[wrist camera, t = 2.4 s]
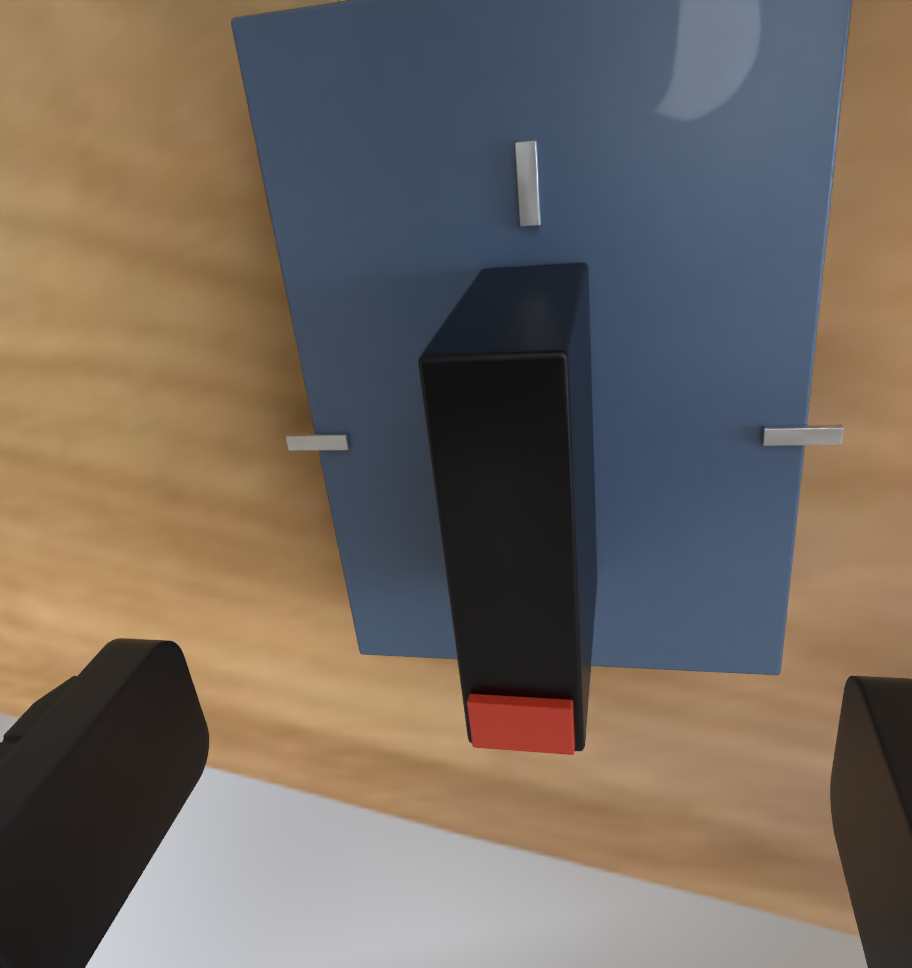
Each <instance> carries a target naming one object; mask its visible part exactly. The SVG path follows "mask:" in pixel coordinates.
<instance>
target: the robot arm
mask: <svg viewBox="0 0 912 968" xmlns="http://www.w3.org/2000/svg"><path fill="white" fill-rule="evenodd" d="M208 750H209V732H208V727H207V724H206V721H205V718H204V715H203V712H202V709H201V706H200V703H199V700H198V697H197V694H196V691H195V688H194V684H193V681H192V678H191V675H190V672H189V669H188V666H187V663H186V660H185V657H184V654H183V652H182V650H181V648H180V647H179V646H178V645H177V644H176V643H175V642H173V641H165V640H144V639H123V638H120V639H115V640H112V641H111V642H109V643H108V644H107V645H105V646H104V647H103V648H102V650H101V651H100V652H99V653H98V654H97V655H96V656H95V657H94V658H93V659H92V661H91V662H90V663H89V664H88V665H87V666H86V667H85V668H84V669H83V671H82V672H81V673H80V674H79V675H78V676H73V677H71V678H70V679H69V680H67V681H66V682H64V683H63V684H61V685H60V686H58V687H57V688H55V689H54V690H52V691H51V692H49V693H48V694H46V695H45V696H43V697H42V698H41V699H39V700H38V701H36V702H35V703H33V704H32V706H31V707H30V708H29V709H28V710H27V711H26V712H25V713H24V714H23V715H22V716H21V717H20V718H19V719H18V721H17V722H16V723H15V724H14V725H13V726H12V727H11V728H10V729H9V730H8V731H7V732H6V733H5V734H4V739H3V741H2V743H1V742H0V968H85V967H86V965H87V963H88V962H89V960H90V958H91V957H92V955H93V954H94V951H95V950H96V949H97V947H98V945H99V944H100V942H101V940H102V938H103V937H104V935H105V934H106V932H107V931H108V929H109V927H110V926H111V924H112V922H113V920H114V919H115V917H116V916H117V914H118V912H119V911H120V909H121V907H122V906H123V904H124V903H125V901H126V899H127V898H128V896H129V894H130V893H131V891H132V889H133V888H134V886H135V884H136V883H137V881H138V879H139V878H140V876H141V875H142V873H143V871H144V870H145V868H146V866H147V864H148V863H149V861H150V860H151V858H152V856H153V854H154V853H155V851H156V850H157V848H158V846H159V845H160V843H161V841H162V840H163V838H164V836H165V835H166V833H167V832H168V830H169V828H170V827H171V825H172V823H173V822H174V820H175V818H176V817H177V815H178V813H179V812H180V810H181V808H182V807H183V805H184V804H185V802H186V800H187V798H188V797H189V795H190V794H191V792H192V790H193V789H194V787H195V786H196V784H197V782H198V781H199V779H200V777H201V775H202V773H203V770H204V768H205V764H206V761H207V757H208ZM830 800H831V814H832V822H833V829H834V834H835V839H836V843H837V847H838V851H839V855H840V859H841V863H842V867H843V871H844V875H845V879H846V883H847V887H848V891H849V894H850V898H851V902H852V906H853V910H854V914H855V918H856V922H857V926H858V930H859V934H860V938H861V942H862V946H863V950H864V954H865V958H866V962H867V966H868V968H912V679H908V678H887V677H866V676H850V677H849V678H848V679H847V681H846V684H845V688H844V694H843V701H842V707H841V714H840V720H839V727H838V734H837V740H836V747H835V754H834V760H833V767H832V773H831V785H830Z"/></svg>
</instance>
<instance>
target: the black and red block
mask: <svg viewBox="0 0 912 968" xmlns="http://www.w3.org/2000/svg"><path fill="white" fill-rule="evenodd" d="M418 367H419V375H420V382H421V390H422V397H423V405H424V412H425V420H426V427H427V435H428V442H429V450H430V457H431V465H432V472H433V480H434V487H435V495H436V502H437V510H438V517H439V525H440V532H441V540H442V547H443V555H444V562H445V569H446V577H447V584H448V592H449V599H450V607H451V614H452V622H453V629H454V637H455V644H456V652H457V659H458V667H459V674H460V682H461V689H462V697H463V704H464V712H465V719H466V727H467V734H468V739H469V742H471V743H472V745H473V747H476V748H489V749H502V750H516V751H529V752H542V753H556V754H569V755H573V754H574V751H582V750H583V749H584V747H585V738H586V725H587V711H588V698H589V685H590V672H591V658H592V645H593V632H594V619H595V605H596V592H597V549H596V514H595V479H594V444H593V409H592V374H591V339H590V304H589V269H588V265H587V264H586V263H569V264H553V265H537V266H521V267H505V268H488V269H482V270H481V271H480V272H479V273H478V275H477V276H476V278H475V279H474V280H473V282H472V283H471V285H470V286H469V287H468V289H467V290H466V292H465V293H464V294H463V296H462V297H461V299H460V300H459V302H458V303H457V304H456V306H455V307H454V309H453V310H452V311H451V313H450V314H449V316H448V317H447V318H446V320H445V321H444V323H443V324H442V325H441V327H440V328H439V330H438V331H437V333H436V334H435V335H434V337H433V338H432V340H431V341H430V342H429V344H428V345H427V347H426V348H425V349H424V351H423V352H422V354H421V355H420V356H419V359H418Z"/></svg>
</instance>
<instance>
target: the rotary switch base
mask: <svg viewBox="0 0 912 968" xmlns="http://www.w3.org/2000/svg"><path fill="white" fill-rule="evenodd" d="M851 6H852V0H352V1H345V2H338V3H331V4H324V5H317V6H310V7H303V8H296V9H289V10H282V11H275V12H268V13H262V14H255V15H248V16H241V17H234V18H233V19H232V20H231V25H232V30H233V35H234V40H235V45H236V50H237V55H238V60H239V64H240V69H241V74H242V79H243V84H244V89H245V94H246V99H247V104H248V108H249V113H250V118H251V123H252V128H253V133H254V138H255V143H256V148H257V152H258V157H259V162H260V167H261V172H262V177H263V182H264V187H265V191H266V196H267V201H268V206H269V211H270V216H271V221H272V226H273V231H274V235H275V240H276V245H277V250H278V255H279V260H280V265H281V270H282V274H283V279H284V284H285V289H286V294H287V299H288V304H289V309H290V314H291V318H292V323H293V328H294V333H295V338H296V343H297V348H298V353H299V357H300V362H301V367H302V372H303V377H304V382H305V387H306V392H307V397H308V401H309V406H310V411H311V416H312V421H313V426H314V431H315V433H288V434H287V435H286V441H287V446H288V450H289V451H305V450H319V455H320V460H321V465H322V470H323V475H324V480H325V484H326V489H327V494H328V499H329V504H330V509H331V514H332V519H333V524H334V528H335V533H336V538H337V543H338V548H339V553H340V558H341V563H342V567H343V572H344V577H345V582H346V587H347V592H348V597H349V602H350V607H351V611H352V616H353V621H354V626H355V631H356V636H357V641H358V646H359V650H360V653H361V654H365V655H385V656H405V657H425V658H445V659H457V652H456V644H455V637H454V629H453V622H452V614H451V607H450V599H449V592H448V584H447V577H446V569H445V562H444V555H443V547H442V540H441V532H440V525H439V517H438V510H437V502H436V495H435V487H434V480H433V472H432V465H431V457H430V450H429V442H428V435H427V427H426V420H425V412H424V405H423V397H422V390H421V382H420V375H419V367H418V359H419V356H420V355H421V354H422V352H423V351H424V349H425V348H426V347H427V345H428V344H429V342H430V341H431V340H432V338H433V337H434V335H435V334H436V333H437V331H438V330H439V328H440V327H441V325H442V324H443V323H444V321H445V320H446V318H447V317H448V316H449V314H450V313H451V311H452V310H453V309H454V307H455V306H456V304H457V303H458V302H459V300H460V299H461V297H462V296H463V294H464V293H465V292H466V290H467V289H468V287H469V286H470V285H471V283H472V282H473V280H474V279H475V278H476V276H477V275H478V273H479V272H480V271H481V270H482V269H488V268H505V267H521V266H537V265H553V264H569V263H586V264H587V265H588V269H589V304H590V339H591V374H592V409H593V444H594V479H595V514H596V549H597V592H596V605H595V619H594V632H593V645H592V658H591V666H605V667H625V668H645V669H665V670H685V671H705V672H725V673H745V674H765V675H779V674H780V672H781V664H782V655H783V645H784V636H785V626H786V617H787V608H788V598H789V589H790V579H791V570H792V561H793V551H794V542H795V532H796V523H797V514H798V504H799V495H800V485H801V476H802V466H803V457H804V448H805V445H841V444H842V438H843V431H844V427H843V426H842V425H807V419H808V410H809V401H810V391H811V382H812V372H813V363H814V354H815V344H816V335H817V325H818V316H819V307H820V297H821V288H822V278H823V269H824V260H825V250H826V241H827V231H828V222H829V212H830V203H831V194H832V184H833V175H834V165H835V156H836V147H837V137H838V128H839V118H840V109H841V100H842V90H843V81H844V71H845V62H846V53H847V43H848V34H849V24H850V15H851Z"/></svg>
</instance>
